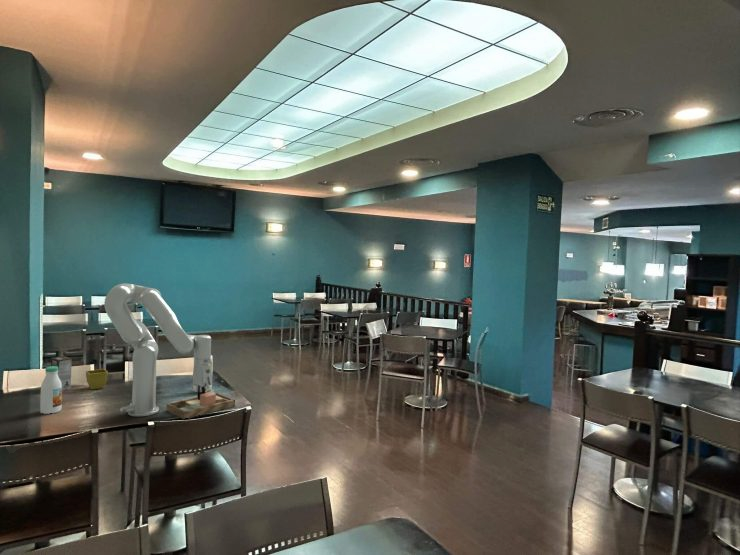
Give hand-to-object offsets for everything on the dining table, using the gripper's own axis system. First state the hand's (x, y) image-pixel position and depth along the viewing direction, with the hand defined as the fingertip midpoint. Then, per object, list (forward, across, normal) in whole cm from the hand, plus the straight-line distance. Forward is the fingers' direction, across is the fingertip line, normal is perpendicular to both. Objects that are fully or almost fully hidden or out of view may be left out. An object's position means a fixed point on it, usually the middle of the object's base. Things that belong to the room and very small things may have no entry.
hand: (201, 399), depth 210 cm
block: (+2, -5, 0) cm, 5 cm away
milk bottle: (+4, +41, +49) cm, 64 cm away
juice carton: (+4, +24, -15) cm, 29 cm away
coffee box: (+4, +76, +35) cm, 84 cm away
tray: (+4, -1, 0) cm, 4 cm away
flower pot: (+4, +65, +22) cm, 69 cm away
